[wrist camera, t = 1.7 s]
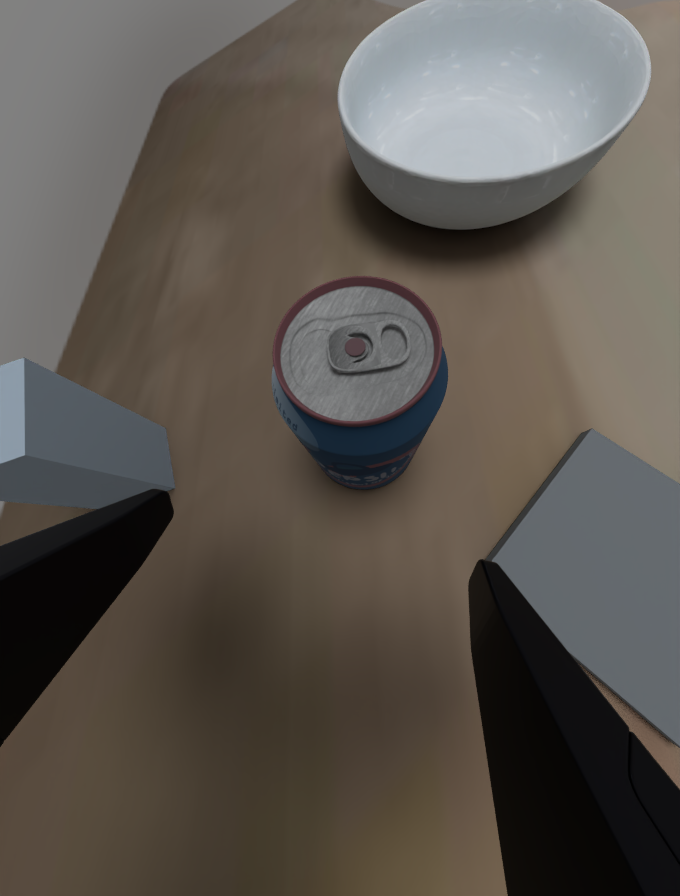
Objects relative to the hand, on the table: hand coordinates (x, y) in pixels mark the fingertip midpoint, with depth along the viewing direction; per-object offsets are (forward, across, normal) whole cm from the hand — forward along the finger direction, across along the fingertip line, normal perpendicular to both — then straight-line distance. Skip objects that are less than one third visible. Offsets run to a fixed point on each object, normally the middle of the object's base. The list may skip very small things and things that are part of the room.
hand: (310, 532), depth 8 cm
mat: (+9, -16, +8) cm, 20 cm away
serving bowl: (+32, -4, -14) cm, 35 cm away
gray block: (+10, +16, +8) cm, 21 cm away
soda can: (+13, 0, +4) cm, 14 cm away
